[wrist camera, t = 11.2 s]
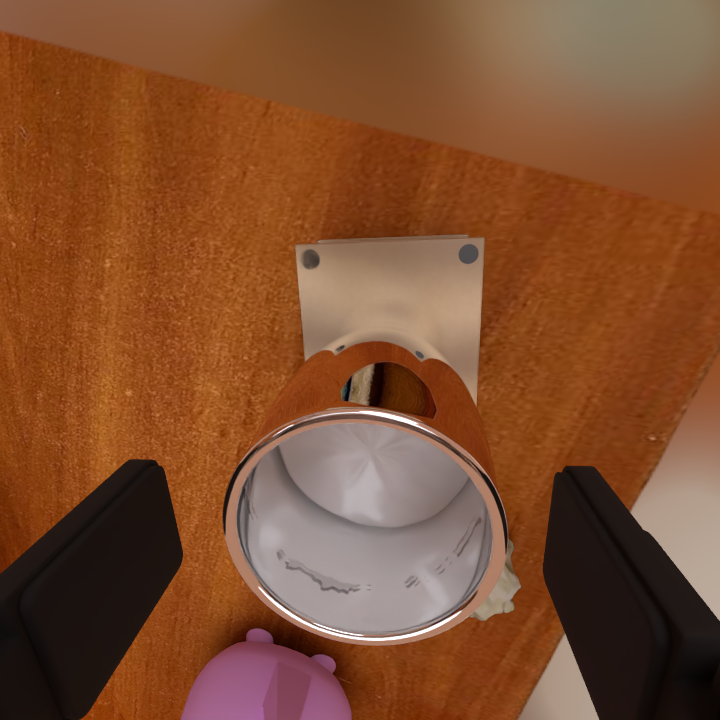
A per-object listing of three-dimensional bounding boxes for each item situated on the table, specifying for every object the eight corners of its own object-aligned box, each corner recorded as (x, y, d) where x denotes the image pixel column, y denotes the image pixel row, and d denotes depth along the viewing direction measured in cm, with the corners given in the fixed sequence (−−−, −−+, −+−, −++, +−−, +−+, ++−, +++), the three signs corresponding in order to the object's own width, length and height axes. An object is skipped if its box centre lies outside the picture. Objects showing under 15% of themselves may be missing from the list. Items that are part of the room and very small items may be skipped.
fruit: (418, 486, 38) (435, 536, 30) (515, 505, 39) (558, 558, 31) (396, 576, 39) (407, 646, 31) (490, 592, 40) (525, 666, 32)
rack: (325, 238, 31) (294, 244, 22) (462, 233, 30) (485, 237, 21) (335, 388, 34) (311, 442, 26) (457, 388, 33) (474, 445, 25)
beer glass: (386, 261, 22) (349, 331, 8) (476, 349, 23) (589, 552, 9) (303, 350, 24) (156, 532, 10) (389, 428, 25) (367, 693, 11)
